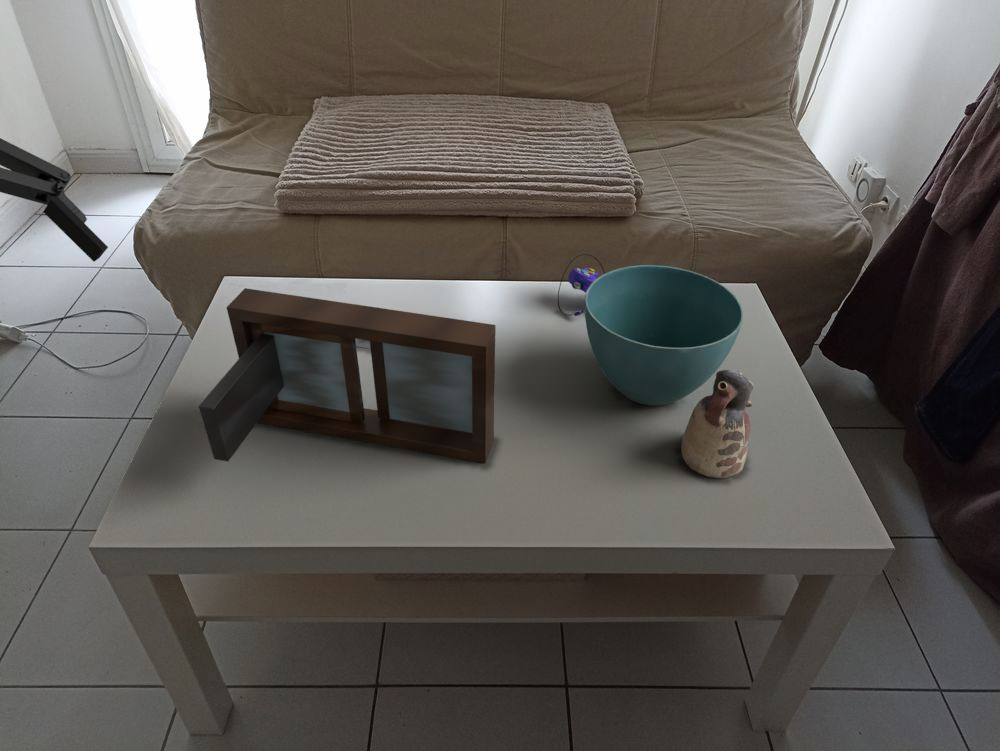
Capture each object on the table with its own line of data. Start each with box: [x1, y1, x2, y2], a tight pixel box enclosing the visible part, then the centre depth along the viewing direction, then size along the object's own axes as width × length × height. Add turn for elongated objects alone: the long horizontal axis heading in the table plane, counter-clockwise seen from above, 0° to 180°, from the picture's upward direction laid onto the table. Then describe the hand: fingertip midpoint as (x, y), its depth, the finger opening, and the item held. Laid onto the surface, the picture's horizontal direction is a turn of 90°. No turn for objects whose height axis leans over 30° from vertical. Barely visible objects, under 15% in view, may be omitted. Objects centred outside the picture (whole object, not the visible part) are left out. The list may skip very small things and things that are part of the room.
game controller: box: [557, 253, 606, 317], centre depth 108 cm, size 10×8×10 cm
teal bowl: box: [584, 264, 744, 407], centre depth 91 cm, size 18×18×12 cm
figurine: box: [680, 369, 755, 479], centre depth 81 cm, size 7×7×12 cm
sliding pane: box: [198, 322, 365, 462], centre depth 78 cm, size 12×13×12 cm
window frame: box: [226, 287, 497, 464], centre depth 82 cm, size 28×4×16 cm, turn 77°
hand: (48, 290), depth 72 cm, fingers open, 13 cm apart
